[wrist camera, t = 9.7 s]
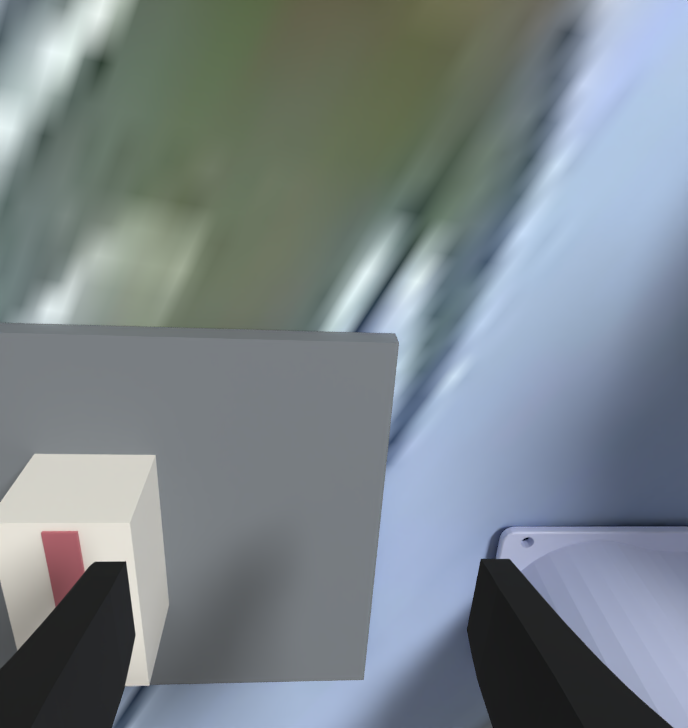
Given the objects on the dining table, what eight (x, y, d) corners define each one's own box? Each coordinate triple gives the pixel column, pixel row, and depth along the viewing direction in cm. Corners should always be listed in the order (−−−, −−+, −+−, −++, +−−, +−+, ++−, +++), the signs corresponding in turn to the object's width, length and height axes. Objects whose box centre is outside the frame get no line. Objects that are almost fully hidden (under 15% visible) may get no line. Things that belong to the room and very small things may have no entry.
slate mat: (395, 333, 20) (398, 343, 20) (361, 663, 27) (363, 679, 26) (-250, 316, 18) (-272, 326, 18) (-112, 673, 25) (-124, 690, 25)
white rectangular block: (169, 604, 24) (148, 688, 20) (63, 605, 23) (25, 691, 20) (155, 454, 21) (128, 525, 17) (34, 453, 20) (-16, 525, 17)
